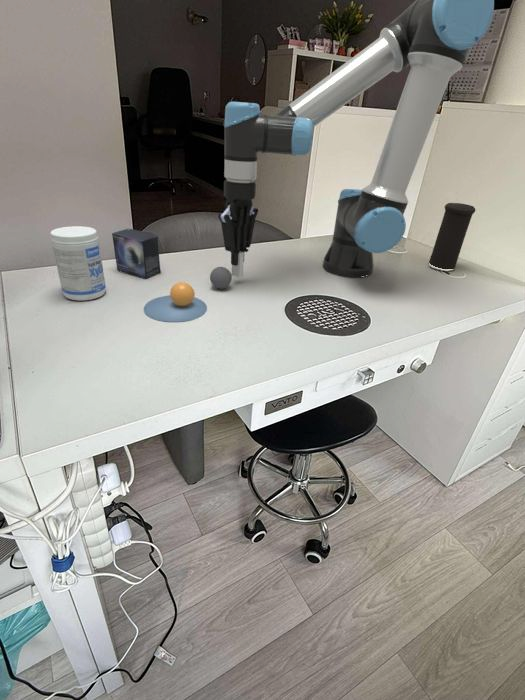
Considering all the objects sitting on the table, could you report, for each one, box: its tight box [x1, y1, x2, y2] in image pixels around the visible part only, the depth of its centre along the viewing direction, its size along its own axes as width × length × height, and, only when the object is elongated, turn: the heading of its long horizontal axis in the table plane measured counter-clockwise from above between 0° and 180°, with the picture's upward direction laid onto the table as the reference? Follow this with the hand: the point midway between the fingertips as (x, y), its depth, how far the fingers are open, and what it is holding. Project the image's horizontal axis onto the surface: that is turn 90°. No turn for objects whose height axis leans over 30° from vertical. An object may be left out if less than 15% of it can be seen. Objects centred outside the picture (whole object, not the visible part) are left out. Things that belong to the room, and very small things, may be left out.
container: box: [428, 202, 476, 270], centre depth 122 cm, size 9×9×20 cm
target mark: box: [143, 294, 208, 323], centre depth 89 cm, size 14×14×1 cm
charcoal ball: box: [209, 266, 233, 290], centre depth 99 cm, size 6×6×6 cm
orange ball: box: [169, 281, 196, 307], centre depth 89 cm, size 6×6×6 cm
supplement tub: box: [50, 225, 107, 301], centre depth 88 cm, size 10×10×15 cm
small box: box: [111, 228, 162, 280], centre depth 104 cm, size 11×6×10 cm, turn 62°
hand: (237, 275), depth 103 cm, fingers closed
